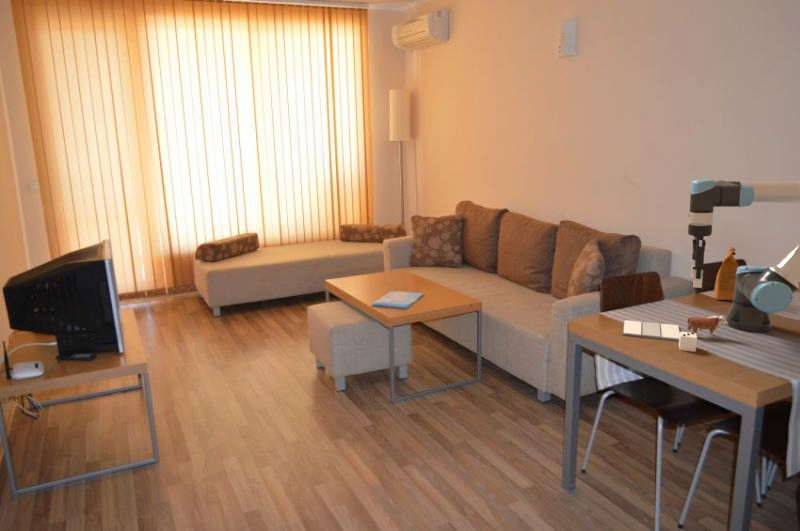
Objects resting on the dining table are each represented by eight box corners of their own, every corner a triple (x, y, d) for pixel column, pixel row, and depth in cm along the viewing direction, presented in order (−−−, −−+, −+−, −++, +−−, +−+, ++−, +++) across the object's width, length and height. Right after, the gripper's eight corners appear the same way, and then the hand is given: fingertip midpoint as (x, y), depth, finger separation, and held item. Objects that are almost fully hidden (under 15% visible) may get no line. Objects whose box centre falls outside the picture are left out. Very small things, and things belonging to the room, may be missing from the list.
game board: (678, 327, 229) (678, 325, 229) (681, 341, 214) (681, 338, 214) (623, 322, 236) (624, 319, 236) (622, 335, 221) (622, 332, 221)
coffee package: (739, 296, 268) (745, 247, 263) (738, 303, 257) (744, 252, 252) (714, 293, 273) (719, 245, 268) (712, 300, 262) (717, 250, 257)
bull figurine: (727, 339, 216) (730, 317, 214) (687, 337, 218) (689, 315, 216) (723, 335, 220) (726, 313, 218) (684, 333, 222) (686, 312, 221)
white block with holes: (694, 346, 209) (696, 331, 208) (695, 351, 205) (697, 336, 204) (678, 345, 211) (680, 330, 210) (679, 350, 207) (680, 334, 205)
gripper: (686, 218, 225) (683, 273, 230) (690, 229, 202) (686, 290, 207) (709, 218, 222) (705, 274, 227) (715, 230, 200) (710, 292, 204)
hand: (696, 282), depth 217 cm, fingers open, 13 cm apart
